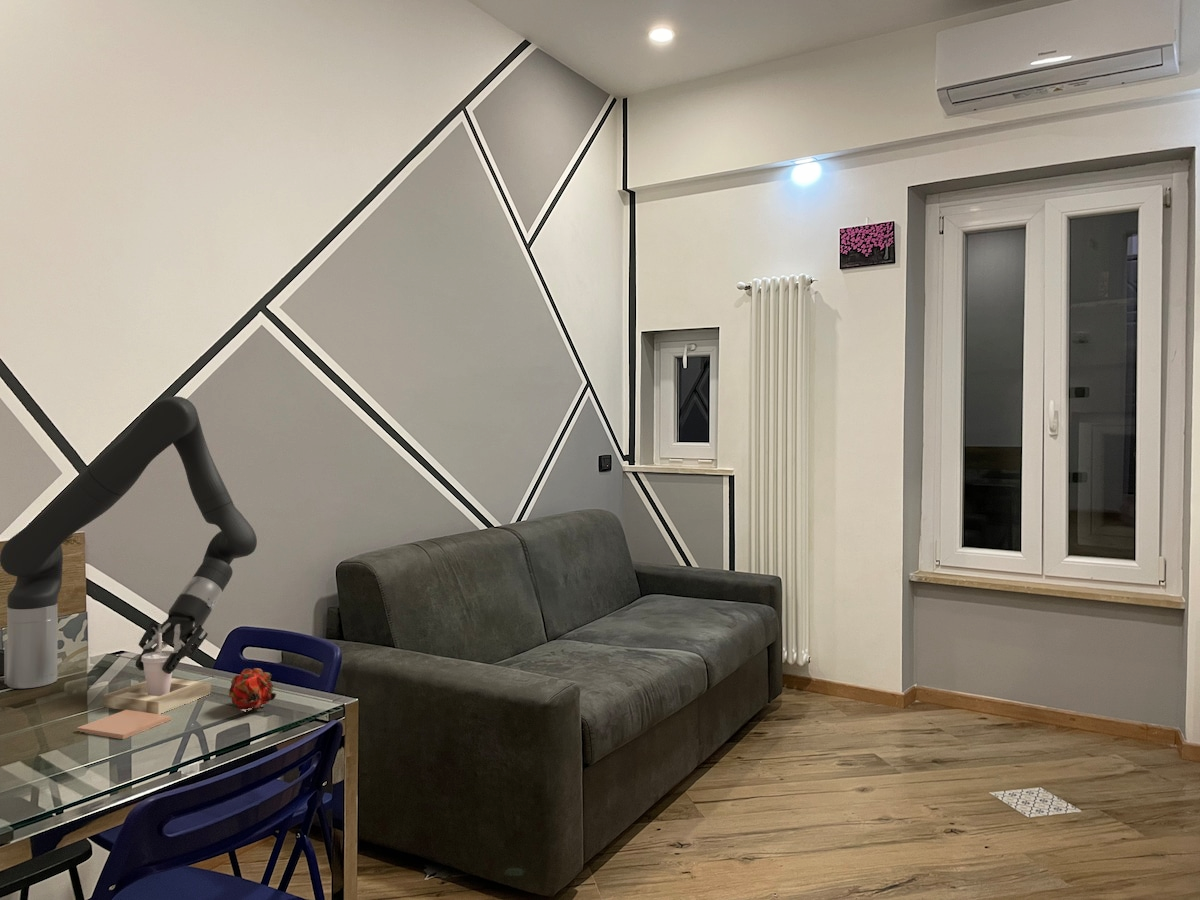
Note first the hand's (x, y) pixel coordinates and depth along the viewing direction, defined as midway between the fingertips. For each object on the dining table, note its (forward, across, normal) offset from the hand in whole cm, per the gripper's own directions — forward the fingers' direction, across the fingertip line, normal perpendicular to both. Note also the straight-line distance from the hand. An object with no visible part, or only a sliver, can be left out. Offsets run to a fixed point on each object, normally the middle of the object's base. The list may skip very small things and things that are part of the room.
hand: (152, 669), depth 176 cm
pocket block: (+4, 0, +6) cm, 7 cm away
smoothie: (+4, 0, +6) cm, 7 cm away
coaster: (+14, +6, -4) cm, 15 cm away
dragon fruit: (+2, +21, +8) cm, 23 cm away
